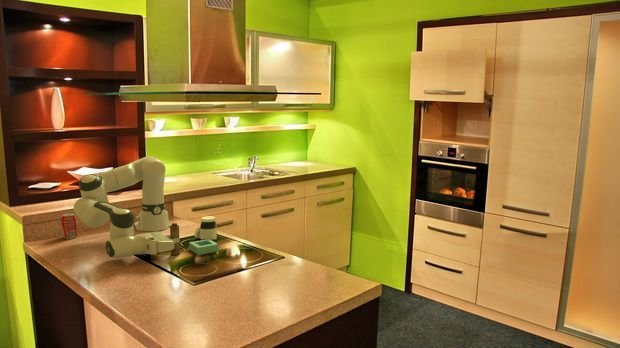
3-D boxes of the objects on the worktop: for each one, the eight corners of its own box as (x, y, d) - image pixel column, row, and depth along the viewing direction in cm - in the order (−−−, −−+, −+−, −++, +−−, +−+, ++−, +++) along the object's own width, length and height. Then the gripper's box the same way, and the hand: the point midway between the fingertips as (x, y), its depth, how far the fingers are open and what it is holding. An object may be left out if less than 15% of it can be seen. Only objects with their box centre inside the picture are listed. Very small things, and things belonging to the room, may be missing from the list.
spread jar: (214, 243, 241) (213, 220, 239) (191, 243, 241) (190, 220, 240) (219, 236, 253) (218, 214, 251) (197, 236, 253) (196, 214, 252)
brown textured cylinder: (169, 253, 224) (168, 223, 222) (178, 251, 227) (177, 222, 224) (172, 255, 221) (171, 225, 219) (181, 253, 223) (180, 223, 221)
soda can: (70, 235, 254) (68, 212, 252) (81, 236, 251) (79, 213, 249) (59, 238, 247) (57, 215, 245) (70, 240, 245) (68, 216, 243)
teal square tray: (189, 249, 231) (189, 242, 230) (209, 246, 237) (209, 239, 236) (198, 255, 223) (197, 247, 222) (218, 251, 229) (218, 244, 228)
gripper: (139, 244, 224) (168, 239, 232) (154, 256, 208) (185, 250, 216) (138, 230, 223) (168, 226, 231) (153, 241, 207) (185, 236, 215)
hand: (176, 238), depth 223 cm, fingers closed on brown textured cylinder, 4 cm apart
